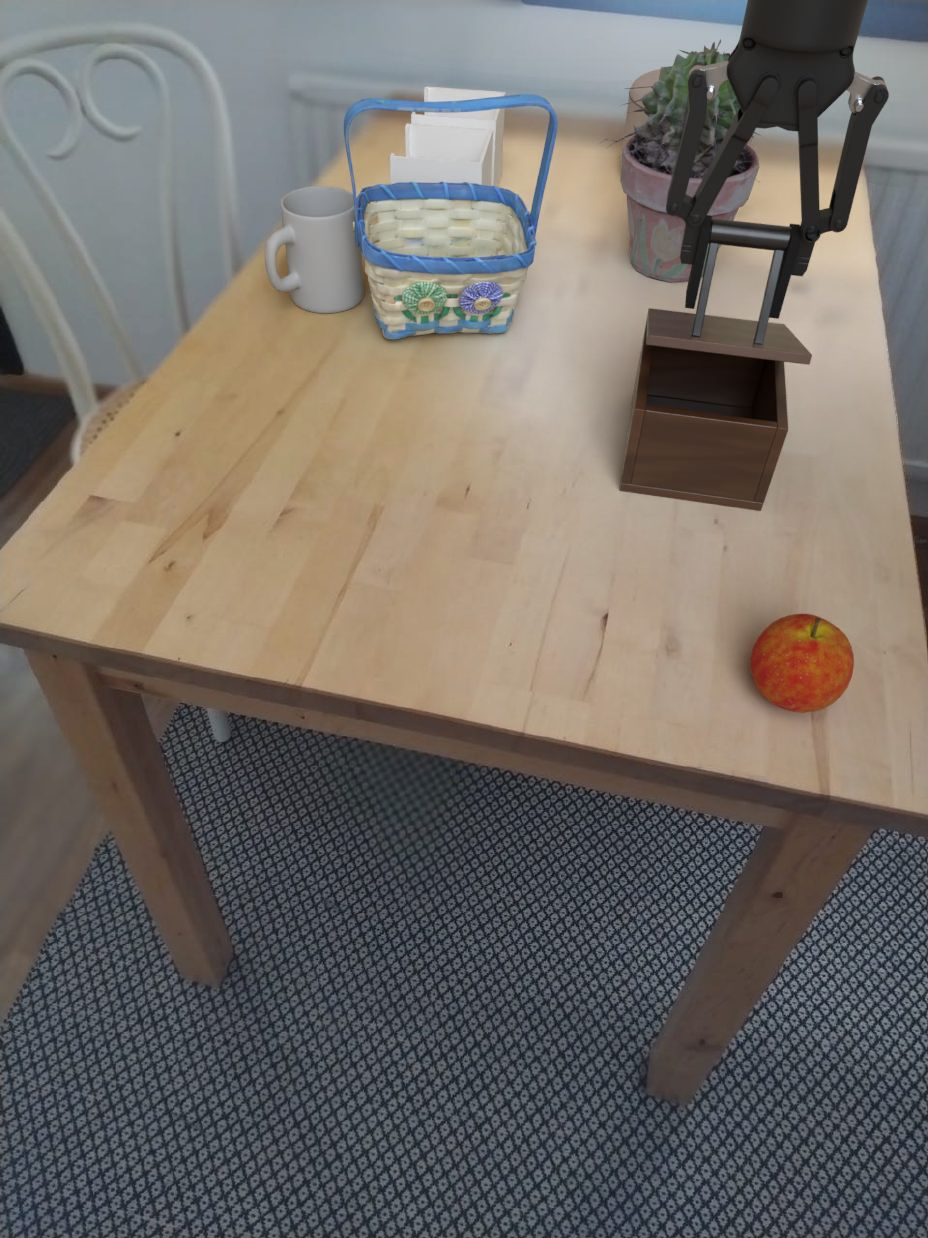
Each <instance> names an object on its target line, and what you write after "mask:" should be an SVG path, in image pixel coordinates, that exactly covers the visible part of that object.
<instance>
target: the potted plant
mask: <svg viewBox="0 0 928 1238" xmlns="http://www.w3.org/2000/svg"><path fill="white" fill-rule="evenodd" d="M721 43H722V40H721V38H720V39H719V42H718V44H717V46H716V41H713V42H712V44H711V47H710V48H707V47H706V45H703V51H699V52H698V51H697V50H695V51H693V50H692V51H690V52H689V51H686V50H680V49H679V51H680V52H682V53H683V54H687V56H686V57H683V56H682V55H681V54H678V53H677V54H676V56H675V57H674V61H673V64H672V66H671V65H670V66H661V67H660V69H661V70H660V75H659V81H658V82H656V83H654V85H653V86H649V87H651V88H652V89H653V90H652V91H650V92H649V93H647V94H646V95H644V96H643V97H642V99H640V100H636V101H633V102H638V101H642V103H643V105H644V106H645V107H644V108H642V109H639V110H636V111H633V112H642V111H644V113H645V114H647V115H648V119H647V121H646V122H645V124H643V125H641V126H638V127H636V128H635V126H634V129H635V131H634V132H632V133H631V134H629V135H627V136H625V137H624V136H623V137H621V138H619V139H618V140H612V139H610V141H612V142H613V143H611V144H610V145H609V146H608V147H610V146H612V145H613V144H615V143H618V142H620V141H623V139H624V138H626V137H629V136H631V135H634V134H635V136H633V137H632V138H630V140H629V141H628V142H627V143H626V145H625V147H624V148H623V150H622V149H621V152H622V155H621V154H620V155H619V156H618V158H621V156H622V163H621V165H620V166H621V168H620V185H621V187H622V191H623V193H624V194H625V197H626V207H627V222H628V223H627V224H628V238H629V251H630V264H631V265H632V267H633V269H634V270H635V271H636V272H638V273H640V274H641V275H643V276H645V277H647V278H651V279H654V280H658V281H662V282H666V283H667V282H668V283H685V282H687V283H688V281H689V276H690V271H691V266H692V265H690V264H681V260H680V251H681V245H682V240H683V235H684V230H685V225H686V224H685V221H684V220H683V219H682V218H680V217H678V216H671V215H669V214H668V213H667V211H666V202H667V194H668V190H669V186H670V182H671V178H672V174H673V170H674V166H675V162H676V158H677V154H678V149H679V145H680V141H681V137H682V133H683V129H684V125H685V121H686V117H687V113H688V109H689V105H690V103H689V91H688V77H689V69H690V67H691V66H692V65H693V64H694V63H696V62H702V63H704V65H705V66H706V65H710V64H715V63H719V62H724V61H728V58H729V56H730V54H731V53H730V52H723V53H720V51H718V50H719V49H718V48H719V46H720V45H721ZM637 88H647V87H637ZM630 89H634V88H631V87H628V88H625V90H630ZM633 102H630V103H633ZM628 104H629V103H628V102H627V103H623V104H621V105H619V107H620V106H623V105H624V106H625V105H628ZM739 107H740V105H739V103H738V101H737V98H736V96H735V94H734V91H733V89H732V87H731V85H730V82H729V80H727V81H725V82H723V83H722V84H721V86H720V88H719V92H718V95H717V97H716V98H715V99H713V100H711V101H707V112H706V117H705V122H704V126H703V129H702V133H701V137H700V141H699V145H698V149H697V152H696V156H695V160H694V164H693V168H692V172H691V176H690V179H689V183H688V187H687V191H686V195H688V196H690V197H692V198H693V196H694V194H695V192H696V190H697V189H698V187H699V185H700V183H701V181H702V179H703V177H704V175H705V173H706V172H707V170H708V168H709V166H710V164H711V162H712V160H713V158H714V156H715V155H716V153H717V151H718V149H719V147H720V145H721V143H722V141H723V139H724V138H725V136H726V134H727V132H728V130H729V128H730V126H731V124H732V121H733V119H734V116H735V114H736V112H737V111H738V109H739ZM628 113H629V112H628ZM754 134H756V135H758V136H760V137H763V138H764V139H766V137H764V136H763V135H761V134H759V133H757V132H756V131H754ZM752 137H753V138H754V135H753V136H752ZM604 141H608V139H607V138H605V139H604V140H602V141H600V142H599V143H597V146H598V145H599V144H601V143H603V142H604ZM747 144H748V142H747V143H746V145H745V147H744V148H743V150H742V152H741V154H740V156H739V158H738V159H737V161H736V163H735V165H734V167H733V168H732V170H731V172H730V174H729V176H728V178H727V179H726V181H725V183H724V185H723V187H722V188H721V190H720V192H719V194H718V196H717V198H716V199H715V201H714V203H713V205H712V207H711V209H710V210H709V212H708V214H707V215H711V216H712V219H722V220H732V221H735V217H736V216H737V213H738V211H739V209H740V208H741V207H744V206H745V204H746V203H747V201H749V198H750V195H751V193H752V190H753V186H754V184H755V181H758V180H757V176H758V172H759V169H760V158H759V155H758V154H757V152H756V151H755V149H753V148H752V146H751V147H750V146H749V145H747ZM608 147H606V148H607V149H608ZM758 183H761V181H758ZM721 246H722V245H719V246H718V251H717V254H718V253H719V250H720V248H721ZM708 247H709V243H708ZM707 252H708V248H707ZM707 252H706V257H705V262H704V266H703V271H702V275H701V278H703V273H704V268H705V263H706V258H707Z"/></svg>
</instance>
